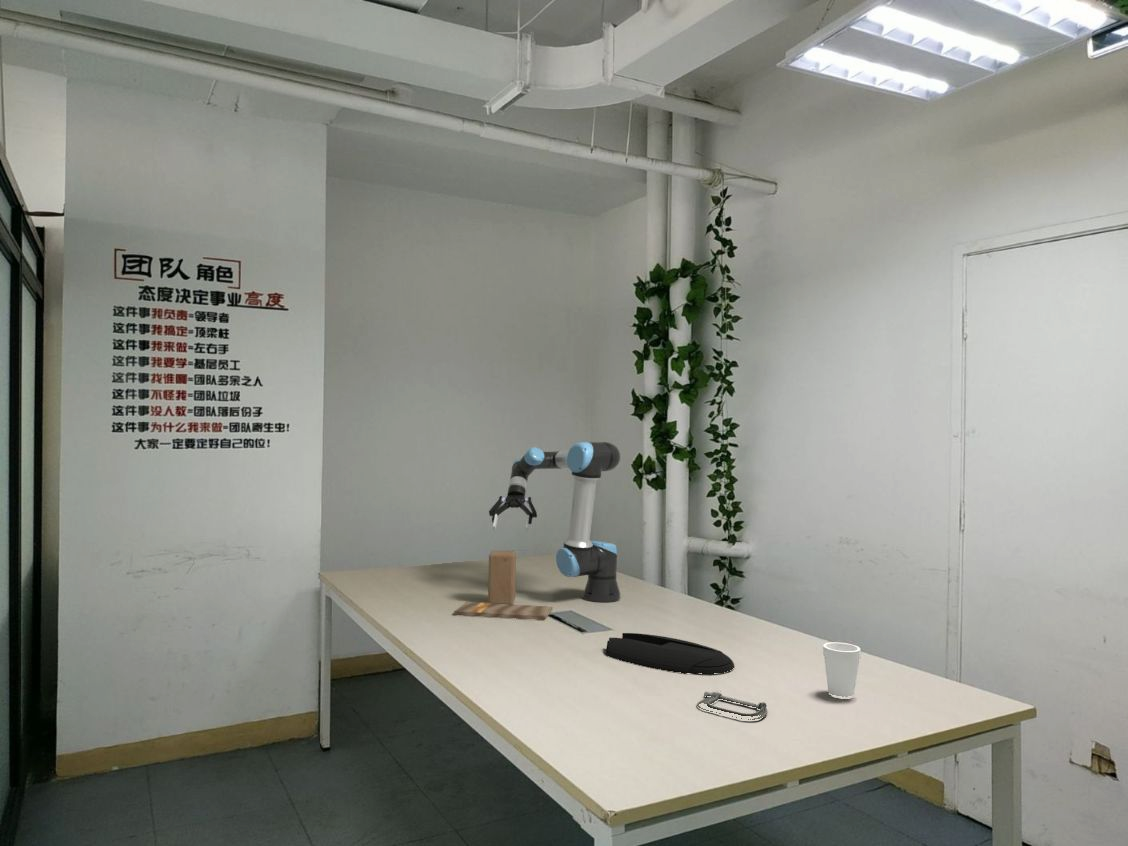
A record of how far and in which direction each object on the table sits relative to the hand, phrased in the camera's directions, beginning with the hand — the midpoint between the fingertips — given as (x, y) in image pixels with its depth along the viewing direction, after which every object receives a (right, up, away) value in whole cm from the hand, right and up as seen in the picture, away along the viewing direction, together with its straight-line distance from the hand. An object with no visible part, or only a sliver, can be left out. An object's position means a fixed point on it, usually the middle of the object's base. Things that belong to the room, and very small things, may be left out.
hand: (510, 528), depth 335 cm
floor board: (0, -27, -31) cm, 41 cm away
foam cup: (+96, -29, -118) cm, 155 cm away
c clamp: (+65, -29, -128) cm, 147 cm away
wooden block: (-3, -28, -13) cm, 31 cm away
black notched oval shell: (+55, -29, -86) cm, 106 cm away
